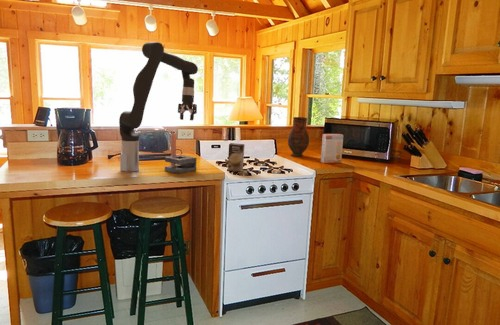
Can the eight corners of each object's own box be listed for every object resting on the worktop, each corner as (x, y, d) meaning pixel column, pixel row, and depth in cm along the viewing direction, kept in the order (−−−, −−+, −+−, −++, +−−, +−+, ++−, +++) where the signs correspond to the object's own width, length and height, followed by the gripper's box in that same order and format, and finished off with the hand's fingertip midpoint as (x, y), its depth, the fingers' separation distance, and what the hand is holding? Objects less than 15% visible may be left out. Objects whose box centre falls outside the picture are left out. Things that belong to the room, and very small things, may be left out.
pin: (172, 167, 228) (173, 134, 225) (169, 166, 230) (170, 133, 226) (176, 166, 231) (177, 134, 227) (173, 165, 232) (173, 133, 229)
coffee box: (227, 170, 226) (228, 144, 223) (228, 168, 233) (229, 142, 230) (242, 171, 226) (243, 145, 223) (243, 169, 232) (244, 143, 229)
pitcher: (290, 158, 282) (293, 118, 277) (282, 153, 303) (284, 115, 297) (311, 158, 286) (314, 118, 280) (301, 153, 306) (304, 116, 301)
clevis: (178, 174, 210) (179, 160, 209) (164, 170, 217) (164, 157, 216) (196, 171, 221) (196, 157, 219) (182, 167, 228) (182, 154, 226)
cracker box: (336, 162, 276) (339, 133, 272) (341, 163, 270) (344, 134, 266) (319, 162, 271) (322, 133, 267) (324, 163, 266) (326, 134, 262)
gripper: (175, 94, 242) (174, 119, 244) (192, 94, 235) (190, 120, 236) (183, 95, 249) (182, 120, 250) (200, 95, 241) (198, 120, 242)
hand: (186, 120), depth 243 cm, fingers open, 8 cm apart
